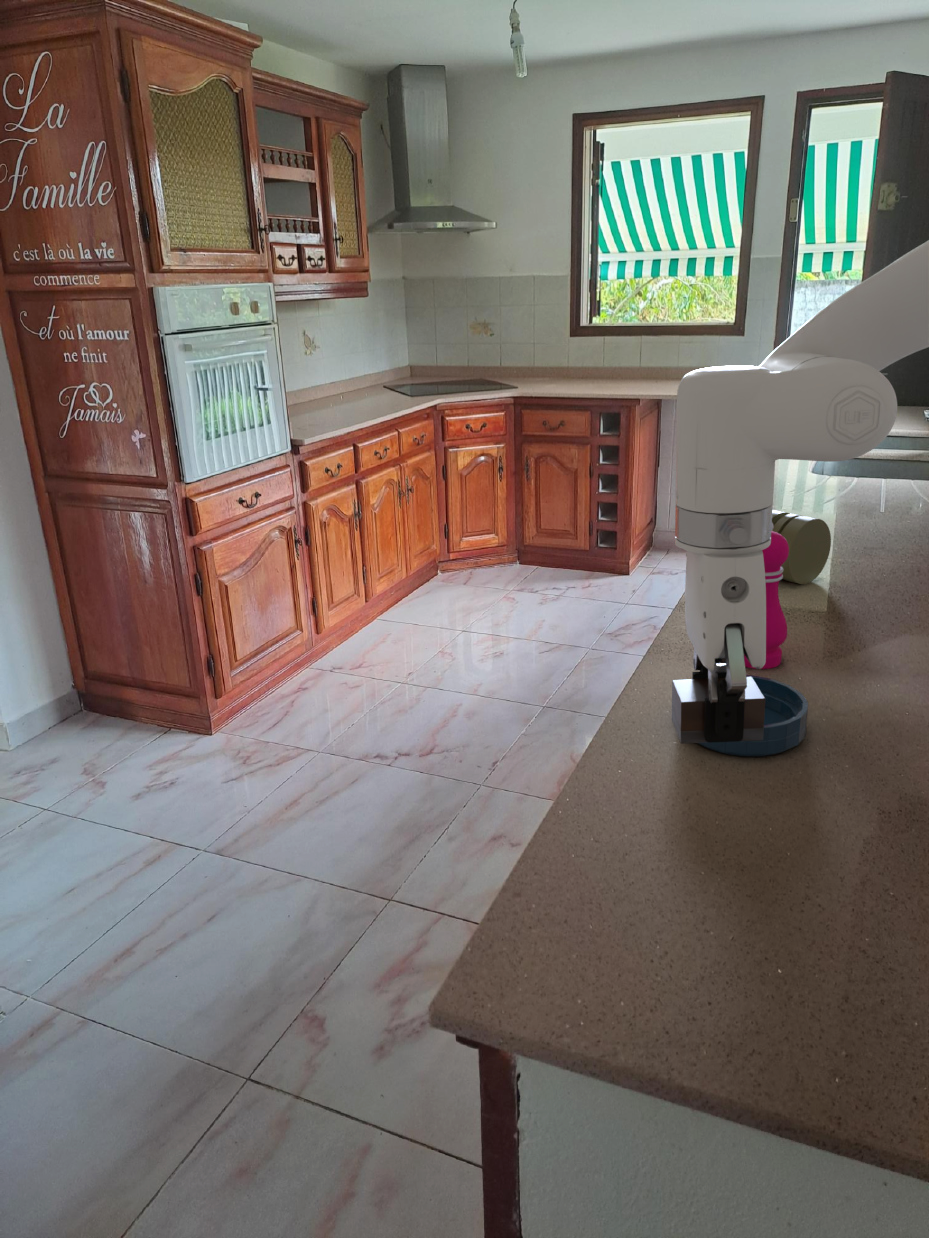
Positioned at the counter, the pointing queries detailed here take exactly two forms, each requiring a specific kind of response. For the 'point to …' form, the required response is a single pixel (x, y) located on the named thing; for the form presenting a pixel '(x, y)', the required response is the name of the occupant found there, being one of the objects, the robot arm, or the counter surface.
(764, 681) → the bowl
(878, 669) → the counter surface
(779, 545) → the pepper mill
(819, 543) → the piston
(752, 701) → the shiny metal block
